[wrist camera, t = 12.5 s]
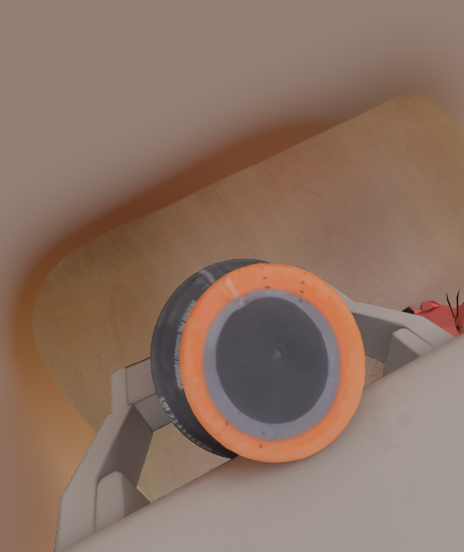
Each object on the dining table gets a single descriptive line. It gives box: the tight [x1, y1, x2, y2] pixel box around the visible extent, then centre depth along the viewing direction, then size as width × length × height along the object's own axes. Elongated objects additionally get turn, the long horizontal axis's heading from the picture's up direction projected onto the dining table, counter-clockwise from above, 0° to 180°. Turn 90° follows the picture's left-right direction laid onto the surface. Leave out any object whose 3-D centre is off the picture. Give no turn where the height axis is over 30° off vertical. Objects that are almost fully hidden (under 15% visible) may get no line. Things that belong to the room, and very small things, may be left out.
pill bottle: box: [150, 259, 366, 463], centre depth 11 cm, size 6×6×11 cm
